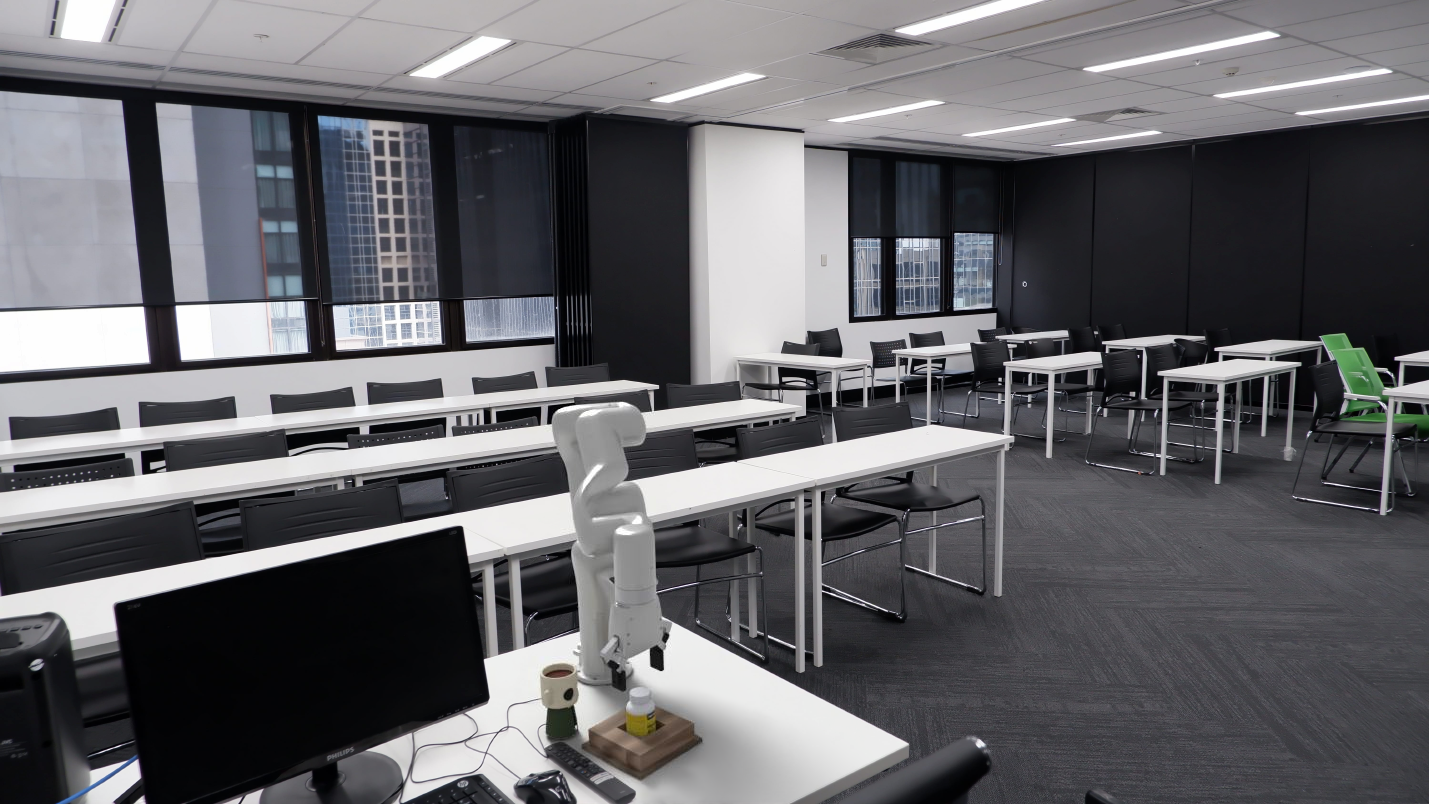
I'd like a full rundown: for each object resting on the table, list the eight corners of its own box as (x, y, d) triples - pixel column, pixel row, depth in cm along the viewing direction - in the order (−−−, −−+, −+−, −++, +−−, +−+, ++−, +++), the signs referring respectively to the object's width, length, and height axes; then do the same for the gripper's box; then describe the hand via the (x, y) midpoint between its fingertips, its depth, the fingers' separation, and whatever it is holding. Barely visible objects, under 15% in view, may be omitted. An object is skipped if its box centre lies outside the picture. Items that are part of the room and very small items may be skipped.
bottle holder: (581, 748, 161) (580, 729, 160) (643, 713, 172) (642, 696, 172) (640, 780, 150) (639, 760, 149) (702, 741, 162) (701, 722, 161)
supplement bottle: (651, 749, 158) (649, 699, 157) (623, 746, 159) (621, 697, 158) (659, 733, 163) (657, 685, 162) (632, 731, 164) (630, 683, 163)
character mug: (565, 751, 160) (562, 685, 158) (531, 745, 162) (527, 681, 160) (591, 721, 170) (587, 659, 168) (558, 716, 172) (555, 655, 170)
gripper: (654, 573, 165) (657, 655, 169) (585, 601, 153) (589, 690, 156) (683, 582, 161) (685, 667, 164) (614, 613, 148) (617, 704, 151)
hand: (638, 678), depth 160 cm, fingers open, 9 cm apart
